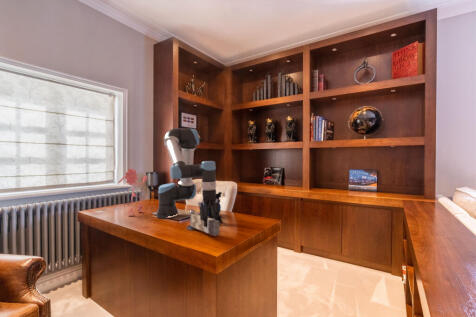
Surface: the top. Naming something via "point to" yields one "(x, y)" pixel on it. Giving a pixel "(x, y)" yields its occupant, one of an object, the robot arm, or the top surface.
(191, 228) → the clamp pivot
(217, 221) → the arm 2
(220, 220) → the chess piece
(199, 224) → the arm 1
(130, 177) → the figurine
